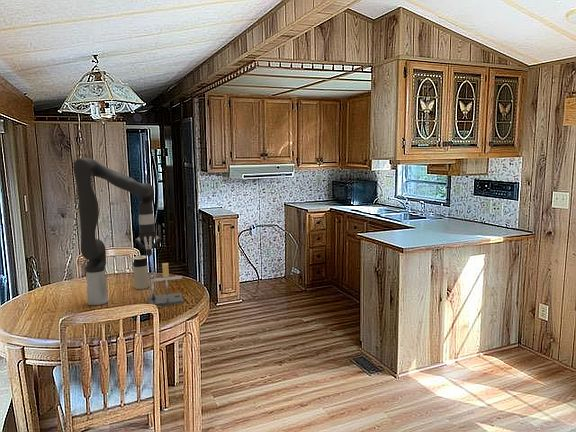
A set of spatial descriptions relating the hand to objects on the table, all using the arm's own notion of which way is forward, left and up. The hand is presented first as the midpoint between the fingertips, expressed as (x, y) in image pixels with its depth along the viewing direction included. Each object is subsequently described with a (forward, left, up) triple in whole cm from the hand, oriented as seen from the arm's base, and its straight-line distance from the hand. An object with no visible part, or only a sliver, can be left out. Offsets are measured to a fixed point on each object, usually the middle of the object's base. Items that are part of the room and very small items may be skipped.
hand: (149, 256), depth 228 cm
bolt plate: (+7, 0, -25) cm, 26 cm away
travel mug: (-6, +30, -25) cm, 40 cm away
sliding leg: (+8, 0, -23) cm, 24 cm away
